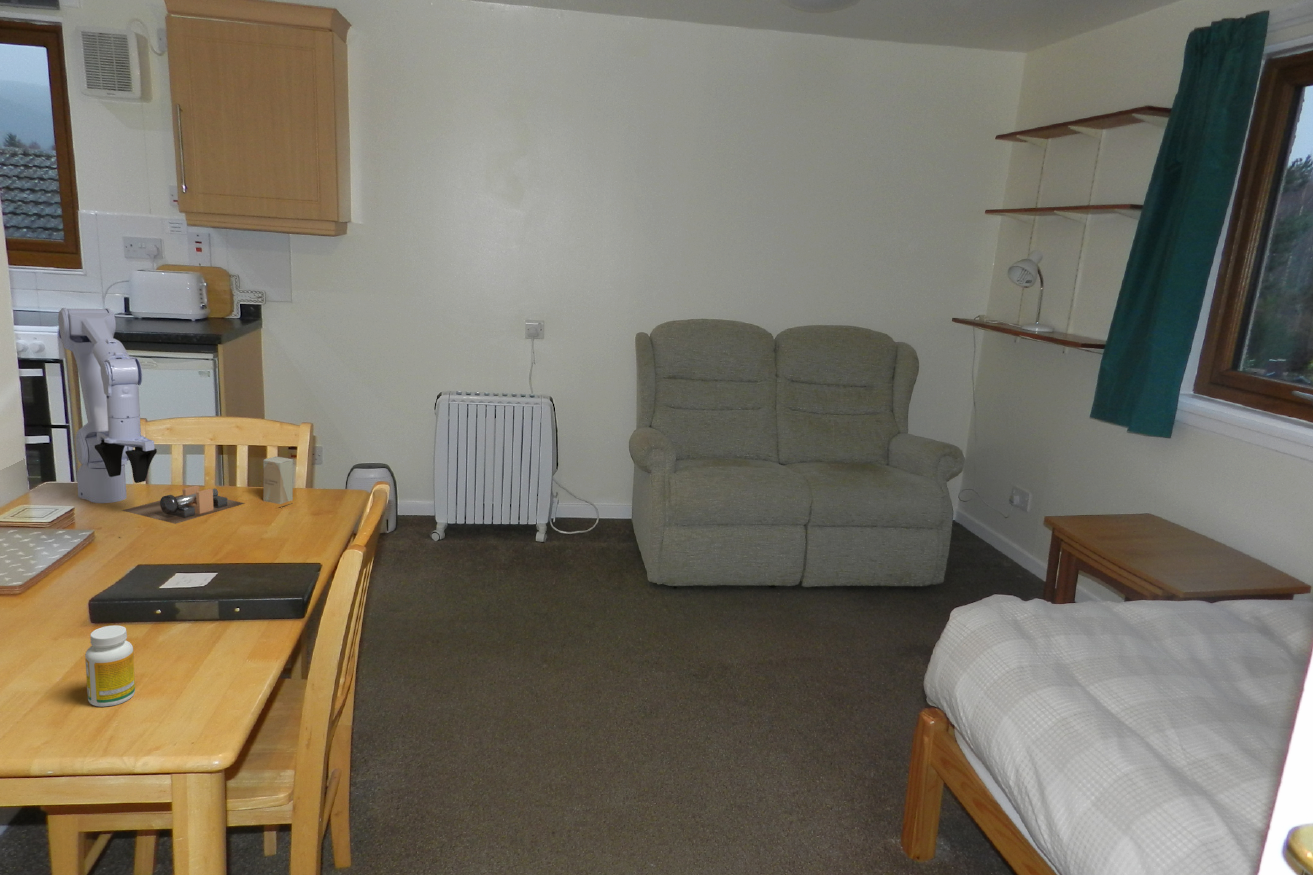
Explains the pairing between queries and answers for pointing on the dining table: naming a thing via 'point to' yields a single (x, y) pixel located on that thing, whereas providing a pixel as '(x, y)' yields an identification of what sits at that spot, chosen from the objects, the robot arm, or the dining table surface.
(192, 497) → the shaft
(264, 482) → the box
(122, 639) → the supplement bottle
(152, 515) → the board
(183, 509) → the supports
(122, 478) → the robot arm
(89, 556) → the dining table surface
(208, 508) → the bracket
